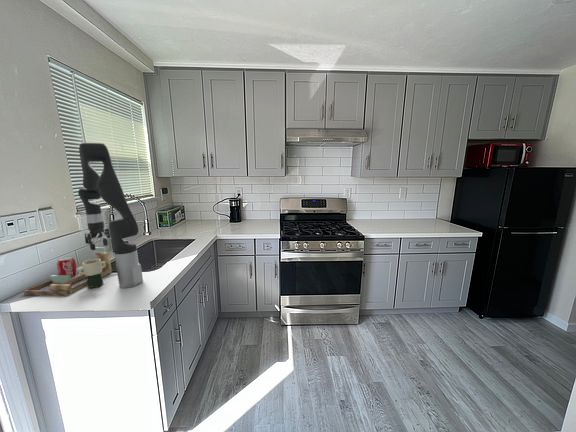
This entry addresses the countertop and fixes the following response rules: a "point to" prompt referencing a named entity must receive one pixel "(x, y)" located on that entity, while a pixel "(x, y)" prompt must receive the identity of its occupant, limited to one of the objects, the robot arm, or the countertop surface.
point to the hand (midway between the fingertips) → (99, 247)
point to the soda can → (67, 266)
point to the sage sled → (66, 278)
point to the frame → (35, 291)
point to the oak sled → (83, 276)
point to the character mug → (93, 272)
